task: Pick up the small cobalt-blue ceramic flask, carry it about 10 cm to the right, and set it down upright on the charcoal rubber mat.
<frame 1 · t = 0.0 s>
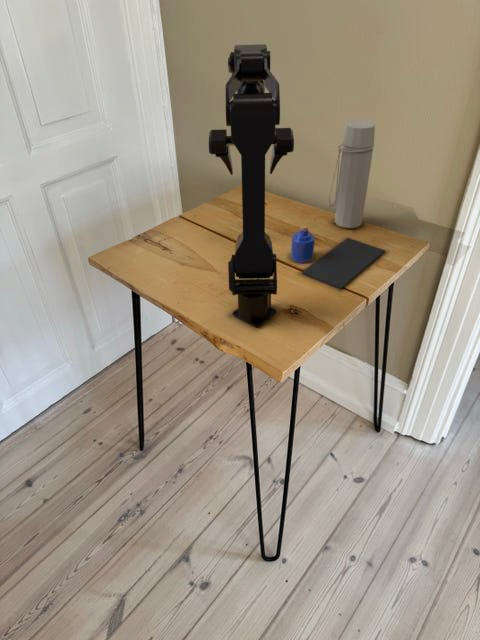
hand: (251, 173, 110), 15 cm above the table, tool pointing down, fingers open, 9 cm apart
water bottle: (344, 224, 122), on the table
mat: (344, 262, 107), on the table
flask: (302, 257, 109), on the table
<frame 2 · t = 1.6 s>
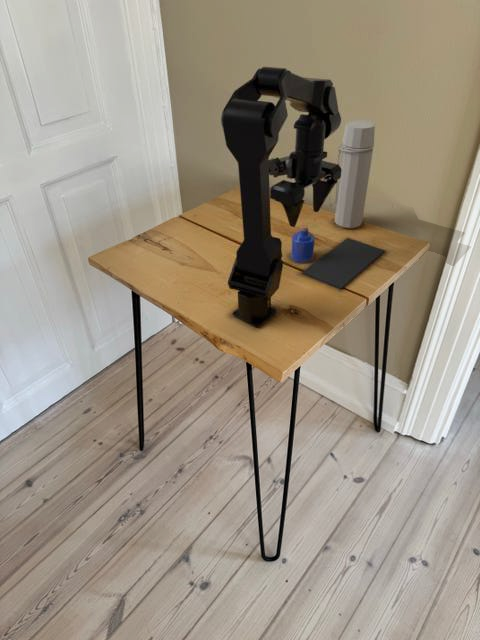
hand: (304, 218, 103), 10 cm above the table, tool pointing down, fingers open, 9 cm apart
nothing on the table moved.
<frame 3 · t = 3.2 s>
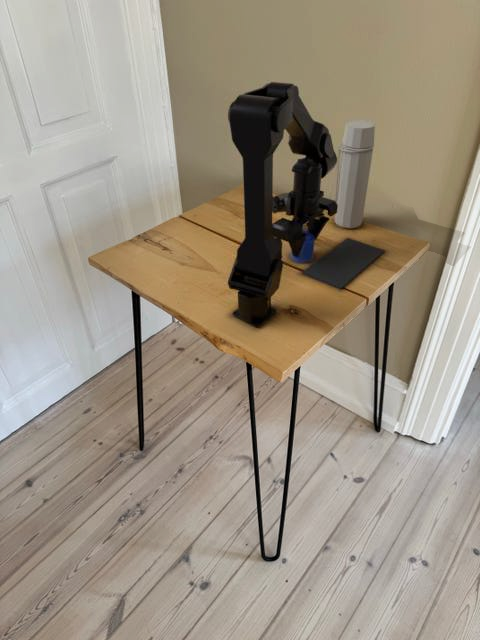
hand: (302, 251, 108), 2 cm above the table, tool pointing down, fingers closed on flask, 5 cm apart
flask: (302, 257, 109), on the table, touching gripper
everything else where it was.
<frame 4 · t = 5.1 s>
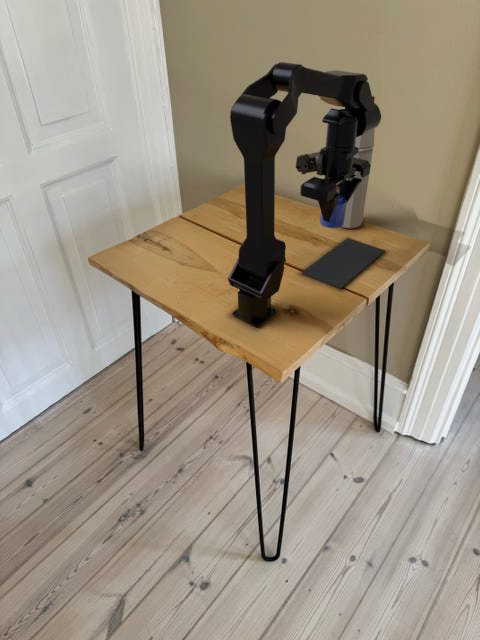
hand: (332, 216, 101), 11 cm above the table, tool pointing down, fingers closed on flask, 5 cm apart
flask: (331, 222, 102), point 10 cm above the table, touching gripper
everything else where it was.
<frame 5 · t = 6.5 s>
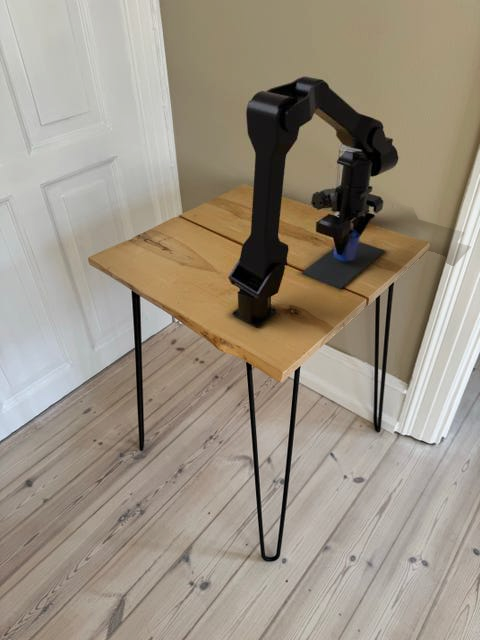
hand: (345, 249, 105), 4 cm above the table, tool pointing down, fingers closed on flask, 5 cm apart
flask: (345, 255, 105), point 2 cm above the table, touching gripper
everything else where it was.
when the fingers open (2 cm above the table, at t = 7.4 s): flask stays where it is, resting on mat.
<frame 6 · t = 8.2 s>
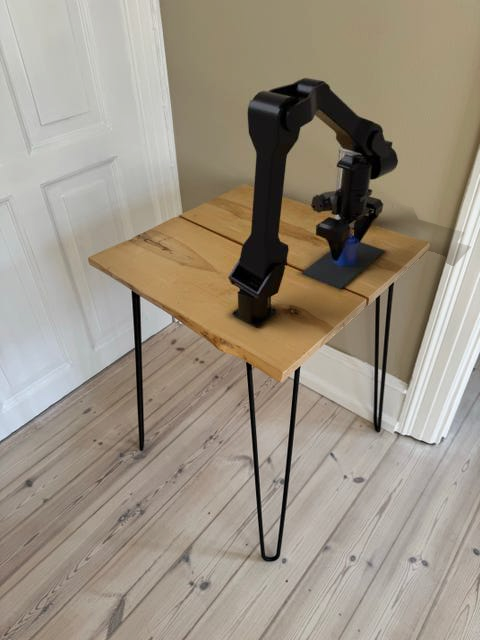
hand: (345, 251, 105), 3 cm above the table, tool pointing down, fingers open, 9 cm apart
flask: (344, 260, 106), resting on mat
everything else where it was.
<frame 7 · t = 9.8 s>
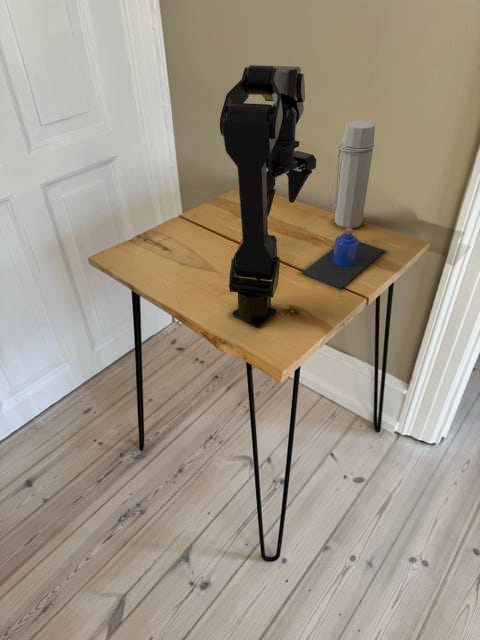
hand: (278, 209, 103), 12 cm above the table, tool pointing down, fingers open, 9 cm apart
nothing on the table moved.
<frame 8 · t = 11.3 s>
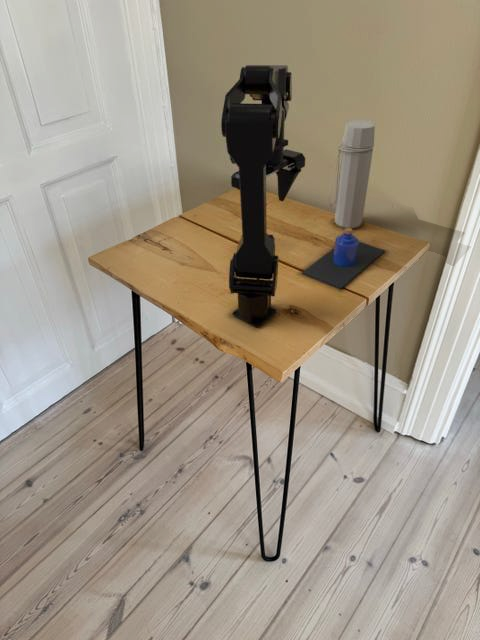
hand: (268, 207, 103), 12 cm above the table, tool pointing down, fingers open, 9 cm apart
nothing on the table moved.
at the end: flask inside the target area on the mat (0.1 cm from its centre), point 0.5 cm above the mat's base; flask tilted 0°; flask moved 9.8 cm from its start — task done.
